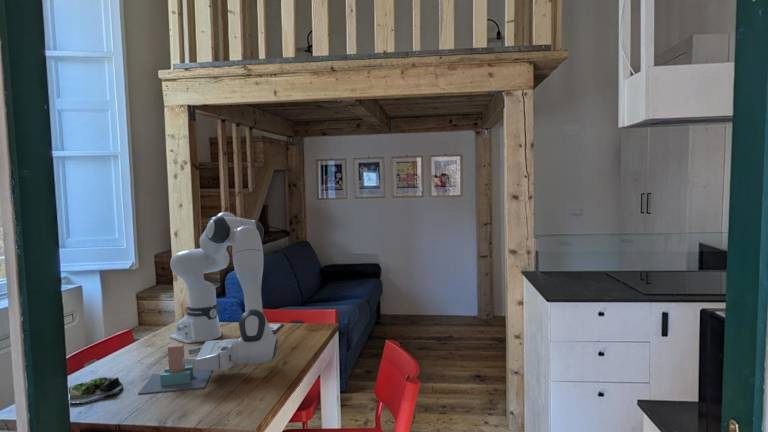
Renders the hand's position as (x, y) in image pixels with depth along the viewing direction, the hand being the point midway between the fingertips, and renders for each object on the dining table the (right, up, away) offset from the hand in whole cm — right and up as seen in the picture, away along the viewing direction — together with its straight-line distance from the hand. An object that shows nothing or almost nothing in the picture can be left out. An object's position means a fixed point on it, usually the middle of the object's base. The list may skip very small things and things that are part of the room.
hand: (185, 356), depth 162 cm
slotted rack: (-3, -9, 0) cm, 9 cm away
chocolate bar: (+14, -6, +56) cm, 58 cm away
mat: (-3, -9, 0) cm, 9 cm away
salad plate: (-26, -10, -7) cm, 29 cm away
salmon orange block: (-3, -8, 0) cm, 9 cm away
